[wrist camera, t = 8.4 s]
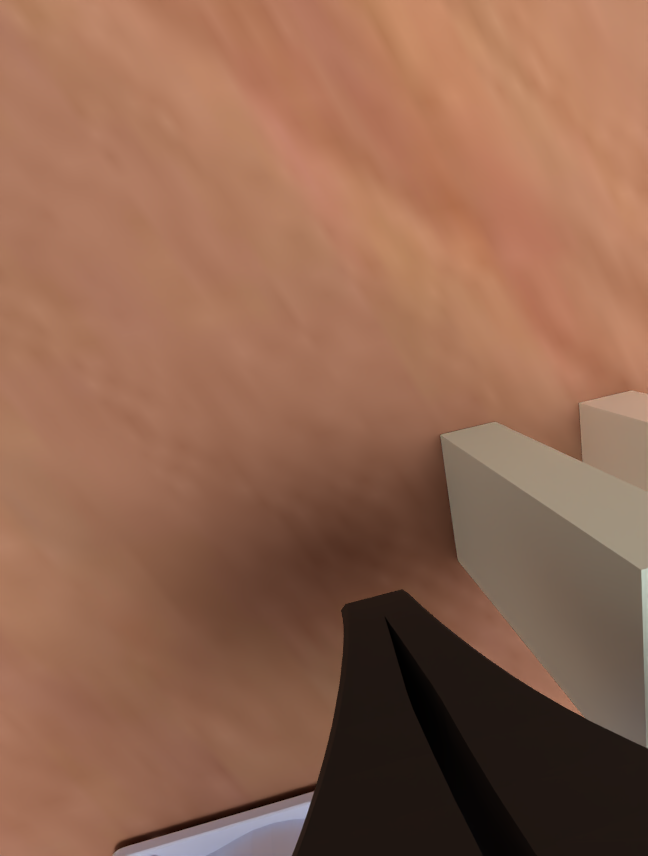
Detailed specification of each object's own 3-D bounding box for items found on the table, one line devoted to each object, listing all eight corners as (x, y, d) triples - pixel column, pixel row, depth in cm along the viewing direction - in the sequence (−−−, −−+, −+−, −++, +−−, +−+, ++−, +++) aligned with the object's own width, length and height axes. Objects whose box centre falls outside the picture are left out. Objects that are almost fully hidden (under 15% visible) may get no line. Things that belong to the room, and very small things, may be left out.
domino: (457, 560, 16) (647, 795, 8) (439, 434, 15) (641, 569, 7) (509, 547, 16) (742, 765, 8) (495, 421, 15) (751, 539, 7)
